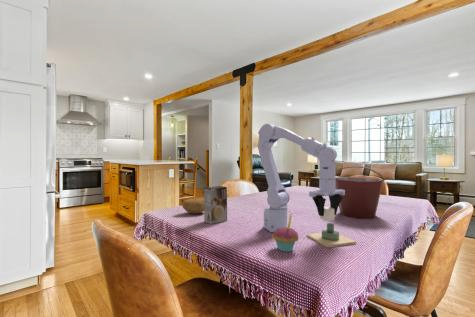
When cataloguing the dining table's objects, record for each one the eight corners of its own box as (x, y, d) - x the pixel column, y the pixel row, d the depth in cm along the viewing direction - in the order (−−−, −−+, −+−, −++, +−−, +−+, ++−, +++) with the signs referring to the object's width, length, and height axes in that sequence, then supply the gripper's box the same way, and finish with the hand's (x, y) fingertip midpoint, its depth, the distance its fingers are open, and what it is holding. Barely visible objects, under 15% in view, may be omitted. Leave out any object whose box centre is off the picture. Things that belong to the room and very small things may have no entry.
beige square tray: (326, 247, 83) (326, 230, 83) (306, 236, 95) (306, 221, 95) (355, 243, 87) (356, 227, 87) (333, 233, 98) (333, 218, 98)
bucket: (324, 213, 130) (325, 166, 130) (343, 207, 145) (344, 164, 144) (375, 223, 112) (375, 168, 112) (391, 215, 127) (391, 166, 126)
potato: (181, 212, 133) (180, 197, 133) (206, 210, 138) (206, 196, 138) (183, 216, 124) (183, 200, 124) (210, 214, 129) (210, 199, 129)
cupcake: (294, 244, 86) (294, 210, 86) (301, 254, 78) (301, 216, 78) (270, 244, 86) (270, 210, 86) (274, 254, 78) (274, 216, 77)
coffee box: (219, 218, 121) (219, 185, 121) (227, 220, 116) (227, 186, 116) (203, 221, 116) (203, 187, 115) (211, 224, 111) (211, 188, 110)
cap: (325, 221, 90) (325, 210, 90) (317, 217, 95) (317, 207, 95) (337, 219, 92) (337, 209, 92) (328, 216, 97) (328, 206, 96)
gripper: (317, 180, 87) (317, 219, 87) (350, 179, 91) (350, 215, 92) (305, 178, 94) (305, 214, 94) (337, 177, 98) (337, 211, 98)
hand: (327, 215), depth 93 cm, fingers closed on cap, 5 cm apart
